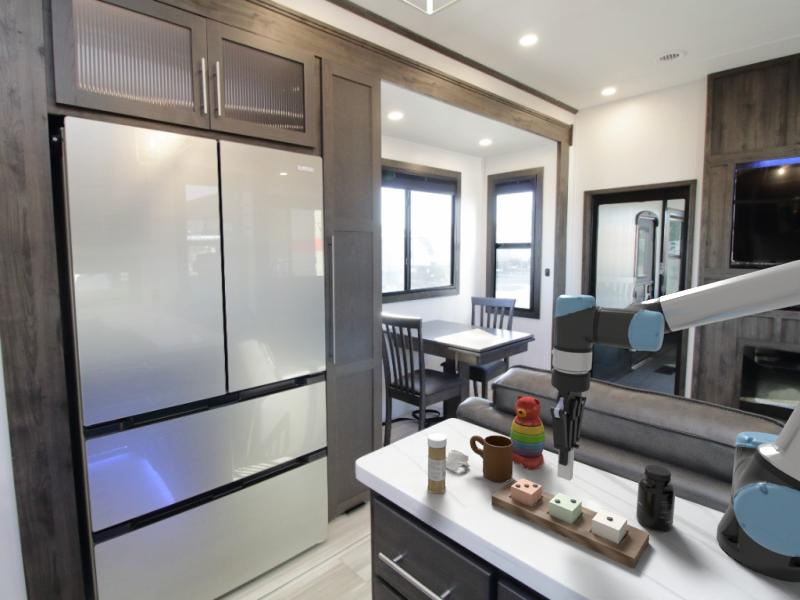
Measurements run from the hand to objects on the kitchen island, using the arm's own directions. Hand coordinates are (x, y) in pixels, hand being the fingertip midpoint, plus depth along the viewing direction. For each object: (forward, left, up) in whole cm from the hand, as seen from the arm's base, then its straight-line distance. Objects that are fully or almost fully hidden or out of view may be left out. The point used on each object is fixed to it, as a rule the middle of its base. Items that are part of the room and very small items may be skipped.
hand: (564, 477), depth 93 cm
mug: (+23, -7, -10) cm, 26 cm away
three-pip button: (+9, 0, -8) cm, 12 cm away
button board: (0, 0, -10) cm, 10 cm away
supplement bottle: (-14, -13, -10) cm, 22 cm away
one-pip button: (-9, 0, -8) cm, 13 cm away
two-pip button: (0, 0, -8) cm, 8 cm away
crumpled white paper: (+32, -4, -10) cm, 34 cm away
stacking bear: (+20, -21, -10) cm, 31 cm away
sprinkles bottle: (+28, +9, -10) cm, 31 cm away
